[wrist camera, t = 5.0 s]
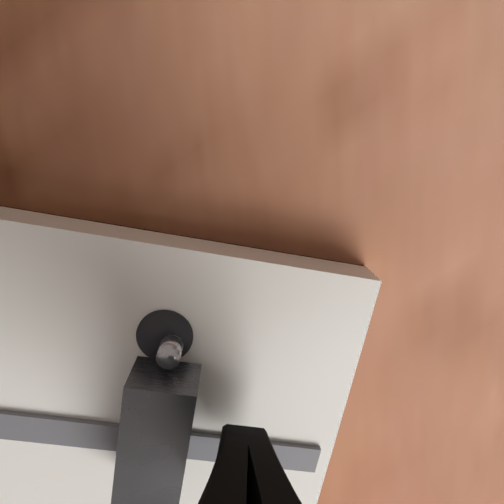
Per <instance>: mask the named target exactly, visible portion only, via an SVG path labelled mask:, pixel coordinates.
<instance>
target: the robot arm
mask: <svg viewBox="0 0 504 504" xmlns="http://www.w3.org/2000/svg"><path fill="white" fill-rule="evenodd" d="M198 504H302V503H301V501H300V499H299V498H298V496H297V494H296V492H295V490H294V489H293V487H292V485H291V483H290V481H289V479H288V477H287V475H286V473H285V471H284V469H283V467H282V465H281V463H280V461H279V459H278V457H277V455H276V453H275V450H274V448H273V446H272V444H271V441H270V439H269V436H268V434H267V431H266V430H265V429H264V428H258V427H250V426H241V425H232V424H226V425H224V426H222V432H221V437H220V442H219V447H218V452H217V458H216V461H215V463H214V466H213V469H212V472H211V474H210V477H209V480H208V482H207V484H206V486H205V489H204V491H203V493H202V495H201V498H200V500H199V502H198Z"/></svg>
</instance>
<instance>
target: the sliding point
mask: <svg viewBox="0 0 504 504" xmlns="http://www.w3.org/2000/svg"><path fill="white" fill-rule="evenodd" d="M183 346H184V344H183V340H182V339H181V338H180V337H179V336H177V335H174V334H170V335H167V336H165V337H164V338H163V339H162V340H161V343H160V346H159V349H158V352H157V354H156V358H150V357H143V356H137V358H136V361H135V363H134V365H133V367H132V369H131V372H130V374H129V376H128V378H127V381H126V383H125V385H124V387H123V395H122V405H121V414H120V423H119V432H118V441H117V451H116V460H115V469H114V478H113V487H112V497H111V504H179V501H180V496H181V490H182V484H183V478H184V472H185V466H186V460H187V454H188V448H189V442H190V437H191V431H192V425H193V419H194V413H195V407H196V401H197V395H198V388H199V380H200V373H201V366H202V364H196V363H188V362H181V361H180V358H181V354H182V350H183Z"/></svg>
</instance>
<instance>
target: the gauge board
mask: <svg viewBox="0 0 504 504" xmlns="http://www.w3.org/2000/svg"><path fill="white" fill-rule="evenodd" d="M381 282H382V281H381V280H380V279H379V278H378V277H377V276H375V275H374V274H373V273H372V272H371V271H370V270H369V269H368V268H367V267H365V266H359V265H353V264H347V263H341V262H335V261H329V260H323V259H317V258H311V257H305V256H299V255H292V254H286V253H280V252H274V251H268V250H262V249H256V248H250V247H244V246H238V245H232V244H226V243H220V242H214V241H208V240H202V239H196V238H190V237H183V236H177V235H171V234H165V233H159V232H153V231H147V230H141V229H135V228H129V227H123V226H117V225H111V224H105V223H99V222H93V221H87V220H81V219H74V218H68V217H62V216H56V215H50V214H44V213H38V212H32V211H26V210H20V209H14V208H8V207H2V206H0V504H111V497H112V487H113V478H114V469H115V460H116V451H117V441H118V432H119V423H120V414H121V405H122V395H123V387H124V385H125V383H126V381H127V378H128V376H129V374H130V372H131V369H132V367H133V365H134V363H135V361H136V358H137V356H143V357H150V358H156V354H157V352H158V349H159V346H160V343H161V340H162V339H163V338H164V337H165V336H167V335H170V334H174V335H177V336H179V337H180V338H181V339H182V340H183V344H184V346H183V350H182V354H181V358H180V361H181V362H188V363H196V364H202V366H201V373H200V380H199V388H198V395H197V401H196V407H195V413H194V419H193V425H192V431H191V437H190V442H189V448H188V454H187V460H186V466H185V472H184V478H183V484H182V490H181V496H180V501H179V504H198V502H199V500H200V498H201V495H202V493H203V491H204V489H205V486H206V484H207V482H208V480H209V477H210V474H211V472H212V469H213V466H214V463H215V461H216V458H217V452H218V447H219V442H220V437H221V432H222V426H224V425H226V424H232V425H241V426H250V427H258V428H264V429H265V430H266V431H267V434H268V436H269V439H270V441H271V444H272V446H273V448H274V450H275V453H276V455H277V457H278V459H279V461H280V463H281V465H282V467H283V469H284V471H285V473H286V475H287V477H288V479H289V481H290V483H291V485H292V487H293V489H294V490H295V492H296V494H297V496H298V498H299V499H300V501H301V503H302V504H317V501H318V498H319V494H320V491H321V487H322V484H323V481H324V477H325V474H326V470H327V467H328V463H329V460H330V457H331V453H332V450H333V446H334V443H335V439H336V436H337V433H338V429H339V426H340V422H341V419H342V415H343V412H344V409H345V405H346V402H347V398H348V395H349V391H350V388H351V385H352V381H353V378H354V374H355V371H356V367H357V364H358V361H359V357H360V354H361V350H362V347H363V343H364V340H365V337H366V333H367V330H368V326H369V323H370V319H371V316H372V313H373V309H374V306H375V302H376V299H377V295H378V292H379V289H380V285H381Z"/></svg>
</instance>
